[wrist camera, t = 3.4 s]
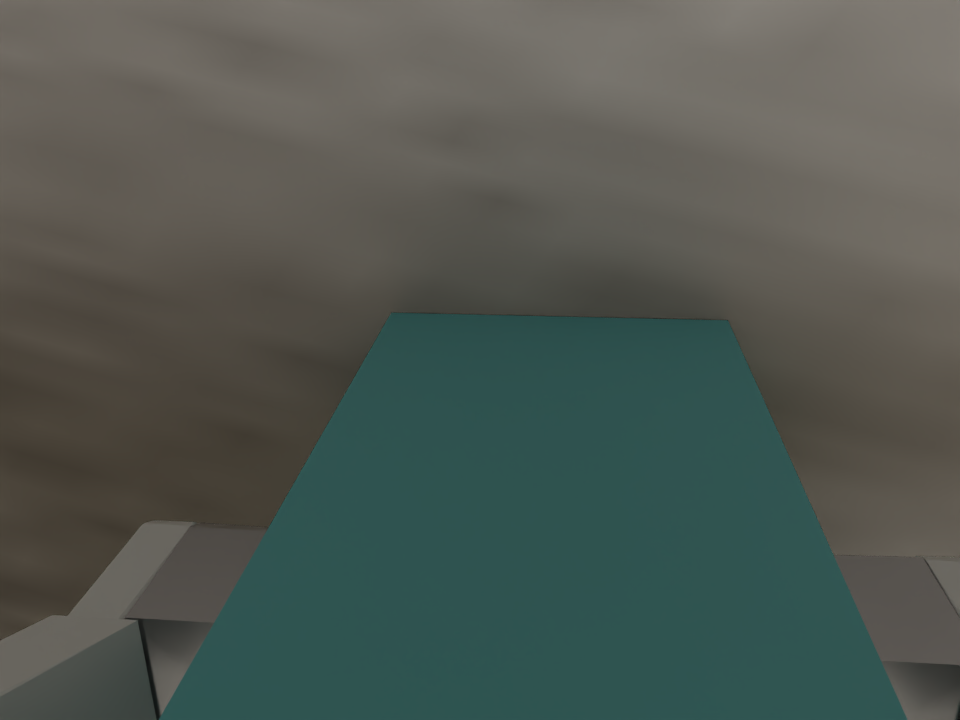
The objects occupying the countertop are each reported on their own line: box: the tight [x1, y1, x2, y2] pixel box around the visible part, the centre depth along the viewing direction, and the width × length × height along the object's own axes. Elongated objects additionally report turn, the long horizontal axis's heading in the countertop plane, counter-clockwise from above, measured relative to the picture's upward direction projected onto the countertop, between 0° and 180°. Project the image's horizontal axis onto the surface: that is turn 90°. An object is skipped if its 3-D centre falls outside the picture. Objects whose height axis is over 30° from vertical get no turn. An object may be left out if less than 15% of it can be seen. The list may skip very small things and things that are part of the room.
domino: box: [159, 313, 907, 720], centre depth 9 cm, size 2×5×10 cm, turn 91°
